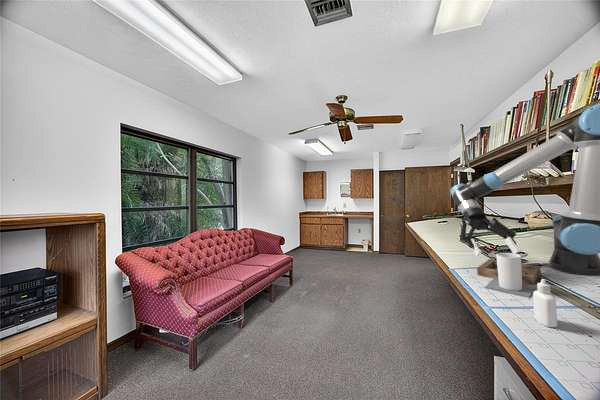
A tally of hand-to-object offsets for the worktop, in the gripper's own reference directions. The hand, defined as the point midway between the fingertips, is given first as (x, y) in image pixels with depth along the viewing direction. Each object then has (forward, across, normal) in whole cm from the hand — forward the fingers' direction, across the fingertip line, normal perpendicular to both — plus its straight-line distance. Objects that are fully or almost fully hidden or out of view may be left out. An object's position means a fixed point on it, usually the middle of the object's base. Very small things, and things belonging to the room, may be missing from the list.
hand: (497, 253), depth 91 cm
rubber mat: (+12, 0, -4) cm, 12 cm away
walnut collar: (+2, -9, -14) cm, 17 cm away
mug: (+11, -1, -4) cm, 12 cm away
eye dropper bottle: (+28, +7, +12) cm, 31 cm away
